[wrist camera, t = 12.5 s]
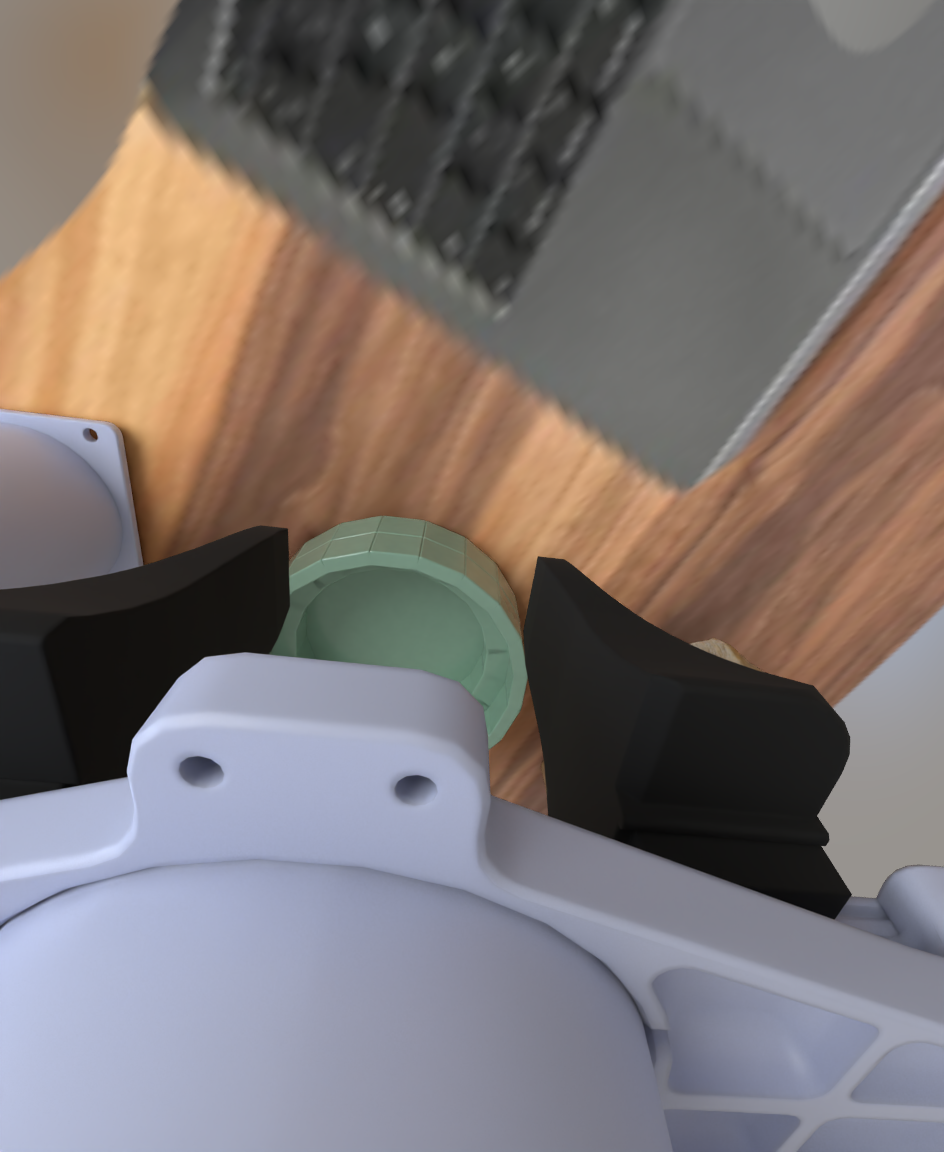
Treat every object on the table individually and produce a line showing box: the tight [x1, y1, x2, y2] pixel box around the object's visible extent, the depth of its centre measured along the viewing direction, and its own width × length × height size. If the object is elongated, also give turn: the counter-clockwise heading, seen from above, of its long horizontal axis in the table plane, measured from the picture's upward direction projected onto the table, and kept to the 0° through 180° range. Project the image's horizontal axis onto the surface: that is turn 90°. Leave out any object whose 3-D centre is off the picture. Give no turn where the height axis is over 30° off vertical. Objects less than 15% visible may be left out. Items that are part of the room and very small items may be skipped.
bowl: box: [269, 516, 528, 749], centre depth 24 cm, size 11×11×4 cm
